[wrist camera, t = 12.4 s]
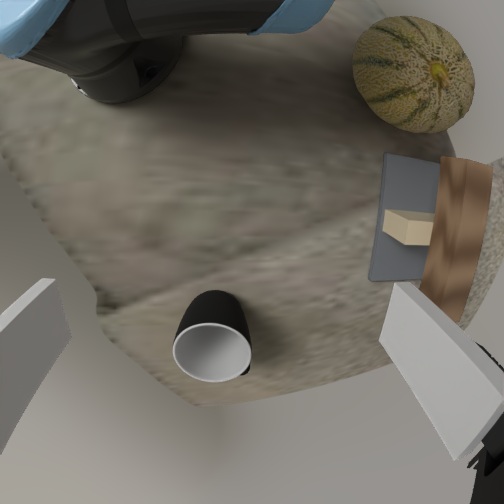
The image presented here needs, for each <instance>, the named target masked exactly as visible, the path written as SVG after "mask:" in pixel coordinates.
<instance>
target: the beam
mask: <svg viewBox="0 0 504 504" xmlns="http://www.w3.org/2000/svg"><path fill="white" fill-rule="evenodd" d="M492 177H493V167H491V166H488V165H485V164H482V163H478V162H475V161H471V160H468V159H461V158H455V157H448V156H441V160H440V173H439V184H438V193H437V201H436V209H435V215H434V222H433V228H432V234H431V239H430V244H429V250H428V254H427V259H426V264H425V268H424V272H423V277H422V281H421V285H420V289H419V290H420V291H421V292H422V293H423V294H424V295H425V296H426V297H428V298H429V299H430V300H431V301H432V302H433V303H434V304H435V305H436V306H437V307H439V308H440V309H441V310H442V311H443V312H444V313H445V314H446V315H447V316H448V317H449V318H450V319H451V320H452V321H454V322H459V321H460V319H461V316H462V313H463V310H464V307H465V304H466V301H467V298H468V295H469V292H470V289H471V285H472V282H473V278H474V275H475V271H476V267H477V264H478V260H479V256H480V251H481V247H482V242H483V238H484V233H485V227H486V222H487V216H488V210H489V203H490V195H491V187H492Z"/></svg>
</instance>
